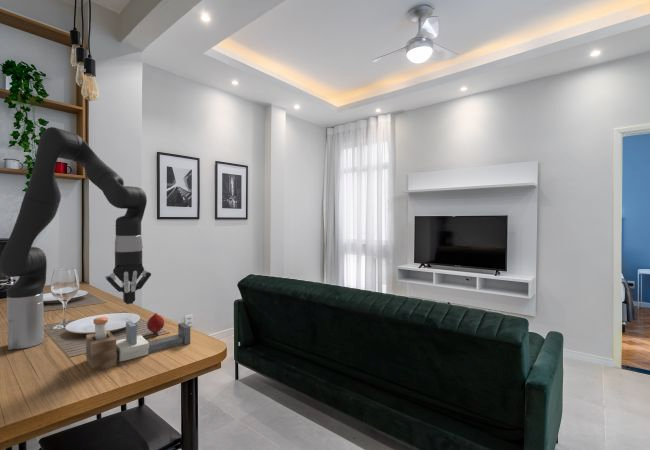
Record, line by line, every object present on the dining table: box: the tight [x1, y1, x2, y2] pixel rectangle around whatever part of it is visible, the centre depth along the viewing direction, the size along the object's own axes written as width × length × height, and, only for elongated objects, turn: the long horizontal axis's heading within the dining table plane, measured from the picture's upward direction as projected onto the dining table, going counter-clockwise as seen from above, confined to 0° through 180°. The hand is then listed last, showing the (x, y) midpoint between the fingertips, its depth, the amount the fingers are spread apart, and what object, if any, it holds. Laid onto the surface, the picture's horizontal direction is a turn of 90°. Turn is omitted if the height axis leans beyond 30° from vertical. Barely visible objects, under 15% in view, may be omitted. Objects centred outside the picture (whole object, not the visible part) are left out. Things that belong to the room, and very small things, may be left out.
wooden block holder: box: [85, 330, 117, 373], centre depth 102 cm, size 6×10×8 cm, turn 44°
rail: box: [116, 322, 191, 363], centre depth 112 cm, size 23×6×6 cm, turn 134°
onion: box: [146, 312, 165, 335], centre depth 126 cm, size 6×6×8 cm
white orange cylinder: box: [92, 316, 109, 340], centre depth 101 cm, size 4×4×8 cm
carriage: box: [116, 320, 149, 362], centre depth 107 cm, size 8×9×10 cm
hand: (129, 303), depth 106 cm, fingers closed
